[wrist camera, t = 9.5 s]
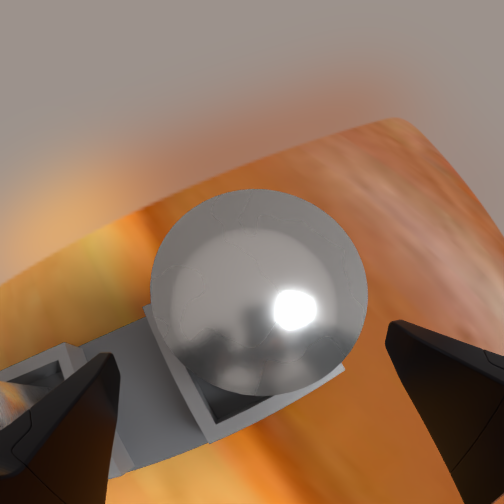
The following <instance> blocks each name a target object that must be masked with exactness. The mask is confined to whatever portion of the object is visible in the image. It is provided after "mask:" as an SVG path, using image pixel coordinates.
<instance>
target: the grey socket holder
mask: <svg viewBox="0 0 504 504" xmlns="http://www.w3.org/2000/svg"><path fill="white" fill-rule="evenodd" d="M142 308H143V310H144V313H145V315H146V317H144V318H141V319H139V320H137V321H135V322H132V323H130V324H128V325H126V326H124V327H121V328H119V329H117V330H115V331H112V332H110V333H108V334H106V335H103V336H101V337H99V338H97V339H94V340H92V341H90V342H88V343H85V344H83V345H81V346H79V347H76V346H73V345H71V344H68V343H65V342H64V343H61V344H59V345H57V346H55V347H53V348H50V349H48V350H46V351H44V352H41V353H39V354H37V355H35V356H32V357H30V358H28V359H26V360H24V361H21V362H19V363H17V364H15V365H12V366H10V367H8V368H6V369H3V370H1V371H0V381H4V382H10V383H16V384H23V385H31V386H39V387H49V388H56V387H57V386H58V385H59V384H61V383H62V382H63V381H64V380H66V379H67V378H68V377H69V376H71V375H72V374H73V373H74V372H76V371H77V370H78V369H79V368H81V367H82V366H83V365H85V364H86V363H87V362H88V361H90V360H91V359H92V358H93V357H95V356H96V355H97V354H99V353H100V352H111V353H112V354H113V355H114V357H115V360H116V363H117V366H118V368H119V371H120V376H121V381H120V392H119V405H118V418H117V425H116V430H115V436H114V442H113V448H112V454H111V461H110V468H109V475H108V479H112V478H115V477H119V476H122V475H124V474H125V473H126V472H130V471H133V470H136V469H139V468H142V467H145V466H148V465H151V464H154V463H157V462H160V461H163V460H166V459H168V458H171V457H174V456H176V455H179V454H182V453H184V452H187V451H189V450H192V449H194V448H197V447H199V446H201V445H204V444H206V443H208V442H209V444H211V443H213V442H215V441H218V440H220V439H222V438H224V437H226V436H229V435H231V434H233V433H235V432H237V431H239V430H241V429H243V428H245V427H247V426H249V425H251V424H253V423H255V422H257V421H259V420H261V419H263V418H265V417H267V416H269V415H271V414H273V413H274V412H276V411H278V410H280V409H282V408H284V407H285V406H287V405H289V404H291V403H293V402H294V401H296V400H298V399H299V398H301V397H303V396H305V395H306V394H308V393H310V392H311V391H313V390H315V389H316V388H318V387H319V386H321V385H323V384H324V383H326V382H327V381H329V380H331V379H332V378H334V377H335V376H337V375H338V374H340V373H341V372H343V371H344V370H345V369H344V367H343V365H342V363H340V364H339V365H338V366H337V367H336V368H335V369H334V370H333V371H332V372H331V373H329V374H328V375H326V376H325V377H323V378H322V379H321V380H319V381H317V382H315V383H313V384H311V385H309V386H307V387H305V388H302V389H300V390H297V391H294V392H291V393H285V394H280V395H273V396H253V395H243V394H239V393H235V392H231V391H227V390H224V389H222V388H219V387H217V386H214V385H212V384H210V383H208V382H207V381H205V380H203V379H201V378H200V377H198V376H197V375H195V374H194V373H193V372H192V371H190V370H189V369H188V368H186V367H185V366H184V365H183V364H182V363H181V362H180V361H179V360H178V358H177V357H176V356H175V355H174V354H173V353H172V351H171V350H170V348H169V347H168V346H167V344H166V343H165V341H164V339H163V337H162V335H161V333H160V331H159V329H158V327H157V324H156V321H155V318H154V315H153V310H152V305H151V303H150V304H148V305H146V306H143V307H142Z"/></svg>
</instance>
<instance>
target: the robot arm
mask: <svg viewBox="0 0 504 504" xmlns="http://www.w3.org/2000/svg"><path fill="white" fill-rule="evenodd" d="M385 346H386V349H387V351H388V354H389V356H390V358H391V360H392V363H393V365H394V367H395V369H396V372H397V374H398V376H399V378H400V380H401V382H402V384H403V386H404V388H405V390H406V391H407V393H408V395H409V397H410V398H411V400H412V402H413V404H414V405H415V407H416V409H417V411H418V413H419V414H420V416H421V418H422V420H423V422H424V424H425V425H426V427H427V429H428V431H429V433H430V435H431V437H432V439H433V441H434V442H435V444H436V446H437V448H438V450H439V452H440V454H441V456H442V458H443V460H444V462H445V464H446V466H447V468H448V470H449V472H450V473H451V476H452V478H453V480H454V483H455V485H456V487H457V489H458V491H459V493H460V495H461V497H462V500H463V502H464V504H493V503H495V502H496V501H497V500H498V499H500V498H501V497H502V496H503V495H504V356H501V355H498V354H495V353H492V352H490V351H487V350H483V349H481V348H478V347H475V346H473V345H470V344H467V343H464V342H461V341H459V340H456V339H453V338H450V337H448V336H445V335H442V334H439V333H437V332H434V331H431V330H428V329H426V328H423V327H420V326H417V325H415V324H412V323H409V322H406V321H404V320H396V321H392V322H390V324H389V326H388V331H387V336H386V340H385ZM120 381H121V376H120V371H119V368H118V366H117V363H116V360H115V357H114V355H113V354H112V353H111V352H100V353H99V354H97V355H96V356H95V357H93V358H92V359H91V360H90V361H88V362H87V363H86V364H85V365H83V366H82V367H81V368H79V369H78V370H77V371H76V372H74V373H73V374H72V375H71V376H69V377H68V378H67V379H66V380H64V381H63V382H62V383H61V384H59V385H58V386H57V387H56V388H54V389H53V390H52V391H51V392H49V393H48V394H47V395H46V396H44V397H43V398H42V399H41V400H39V401H38V402H37V403H36V404H34V405H33V406H32V407H31V408H30V409H28V410H27V411H26V412H24V413H23V414H22V415H21V416H19V417H18V418H17V419H15V420H14V421H13V422H12V423H10V424H9V425H7V426H6V427H4V428H3V429H2V430H0V504H105V500H106V491H107V483H108V475H109V468H110V461H111V454H112V448H113V442H114V436H115V430H116V425H117V418H118V405H119V392H120Z"/></svg>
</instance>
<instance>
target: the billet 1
mask: <svg viewBox="0 0 504 504" xmlns="http://www.w3.org/2000/svg"><path fill="white" fill-rule="evenodd" d="M53 389H54V388H49V387H39V386H31V385H23V384H16V383H10V382H4V381H0V430H2V429H3V428H4V427H6V426H7V425H9V424H10V423H12V422H13V421H14V420H15V419H17V418H18V417H19V416H21V415H22V414H23V413H24V412H26V411H27V410H28V409H30V408H31V407H32V406H33V405H34V404H36V403H37V402H38V401H39V400H41V399H42V398H43V397H44V396H46V395H47V394H48V393H49V392H51V391H52V390H53Z"/></svg>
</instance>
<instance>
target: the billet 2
mask: <svg viewBox="0 0 504 504" xmlns="http://www.w3.org/2000/svg"><path fill="white" fill-rule="evenodd" d="M150 296H151V305H152V310H153V315H154V318H155V321H156V324H157V327H158V329H159V331H160V333H161V335H162V337H163V339H164V341H165V343H166V344H167V346H168V347H169V348H170V350H171V351H172V353H173V354H174V355H175V356H176V357H177V358H178V360H179V361H180V362H181V363H182V364H183V365H184V366H185V367H186V368H188V369H189V370H190V371H192V372H193V373H194V374H195V375H197V376H198V377H200V378H201V379H203V380H205V381H207V382H208V383H210V384H212V385H214V386H217V387H219V388H222V389H224V390H227V391H231V392H235V393H239V394H243V395H253V396H273V395H280V394H285V393H291V392H294V391H297V390H300V389H302V388H305V387H307V386H309V385H311V384H313V383H315V382H317V381H319V380H321V379H322V378H323V377H325V376H326V375H328V374H329V373H331V372H332V371H333V370H334V369H335V368H336V367H337V366H338V365H339V364H340V363H341V362H342V361H343V360H344V359H345V357H346V356H347V355H348V354H349V352H350V351H351V350H352V348H353V346H354V344H355V343H356V341H357V339H358V337H359V335H360V332H361V330H362V327H363V324H364V320H365V316H366V311H367V302H368V290H367V281H366V274H365V271H364V267H363V264H362V261H361V258H360V256H359V254H358V252H357V249H356V248H355V246H354V244H353V243H352V241H351V239H350V238H349V236H348V235H347V234H346V233H345V231H344V230H343V229H342V228H341V227H340V226H339V224H338V223H337V222H336V221H335V220H334V219H332V218H331V217H330V216H329V215H328V214H326V213H325V212H324V211H322V210H321V209H319V208H318V207H316V206H315V205H313V204H311V203H309V202H307V201H305V200H303V199H301V198H298V197H296V196H293V195H290V194H287V193H283V192H279V191H272V190H265V189H248V190H238V191H233V192H228V193H225V194H221V195H218V196H215V197H213V198H211V199H209V200H206V201H204V202H202V203H201V204H199V205H197V206H196V207H194V208H193V209H191V210H190V211H189V212H188V213H186V214H185V215H184V216H183V217H182V218H181V219H180V220H179V221H178V222H177V223H176V224H175V225H174V226H173V227H172V229H171V230H170V231H169V232H168V234H167V235H166V237H165V238H164V240H163V242H162V244H161V246H160V247H159V250H158V252H157V255H156V257H155V260H154V264H153V268H152V273H151V282H150Z"/></svg>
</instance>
